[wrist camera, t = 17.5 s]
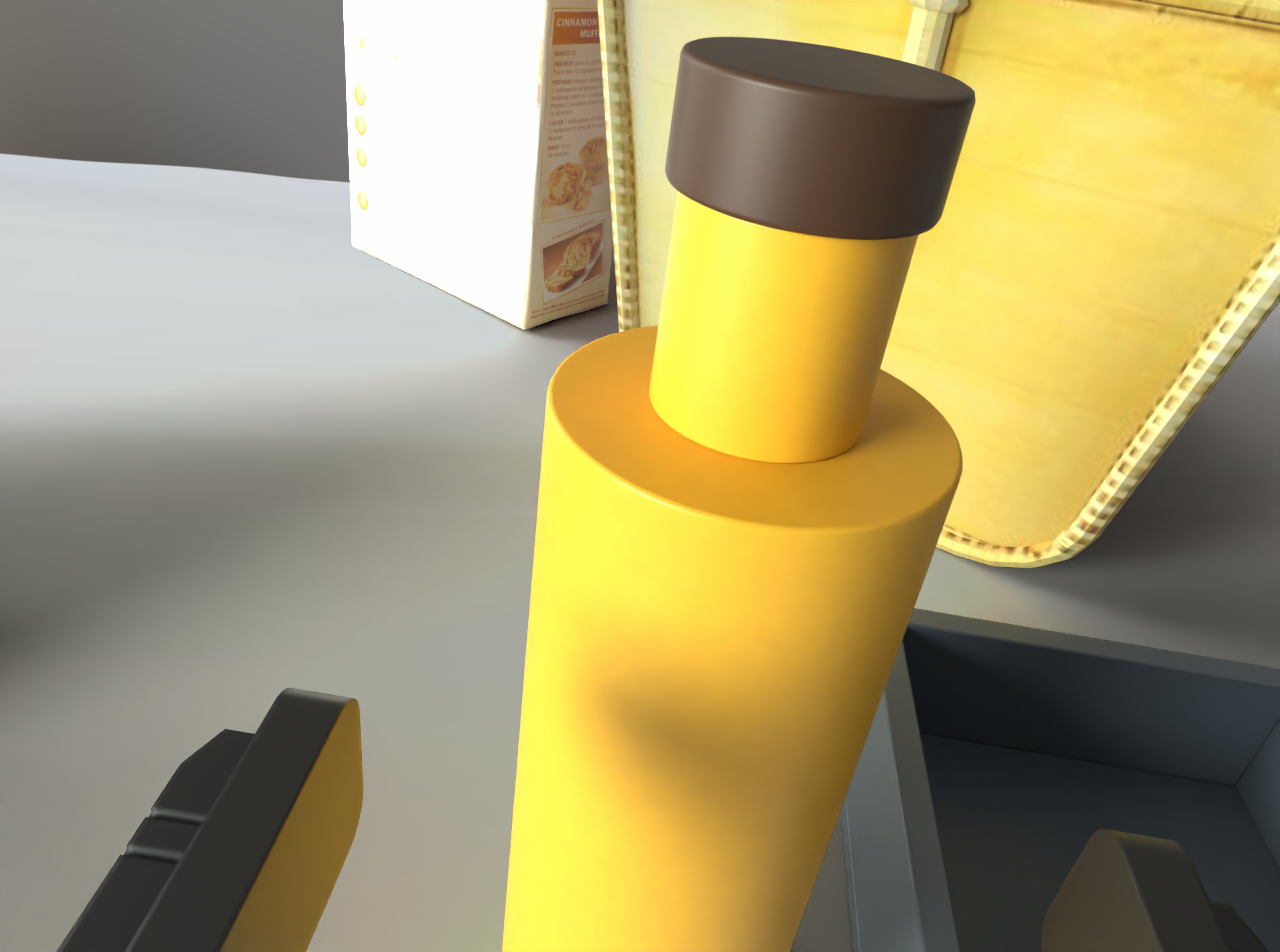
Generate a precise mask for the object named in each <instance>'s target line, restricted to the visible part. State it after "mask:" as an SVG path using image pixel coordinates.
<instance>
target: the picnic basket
mask: <svg viewBox="0 0 1280 952" xmlns="http://www.w3.org/2000/svg"><path fill="white" fill-rule="evenodd" d="M597 3H598V18H599V33H600V48H601V63H602V78H603V93H604V109H605V124H606V139H607V154H608V169H609V184H610V200H611V215H612V230H613V245H614V260H615V275H616V290H617V306H618V321H619V332H621V331H625V330H629V329H635V328H641V327H647V326H656V325H659V319H660V312H661V305H662V298H663V291H664V284H665V277H666V270H667V264H668V257H669V250H670V243H671V236H672V229H673V222H674V215H675V208H676V201H677V194H678V191H677V190H676V189H675V188H674V187H673V186H672V185H671V184H670V183H669V181H668V179H667V176H666V173H665V163H666V156H667V148H668V141H669V134H670V126H671V119H672V112H673V104H674V97H675V89H676V82H677V75H678V67H679V60H680V52H681V50H682V48H683V46H684V45H685V44H686V43H688V42H690V41H693V40H697V39H701V38H709V37H752V38H766V39H777V40H787V41H795V42H803V43H811V44H818V45H824V46H831V47H837V48H842V49H848V50H854V51H859V52H864V53H869V54H874V55H879V56H883V57H888V58H892V59H896V60H900V61H904V62H908V63H912V64H916V65H919V66H923V67H926V68H929V69H932V70H935V71H938V72H941V73H944V74H947V75H949V76H951V77H954V78H956V79H958V80H960V81H962V82H963V83H965V84H966V85H968V86H969V87H971V88H972V89H973V90H974V91H975V99H976V102H975V106H974V109H973V112H972V116H971V119H970V123H969V126H968V129H967V133H966V136H965V139H964V143H963V146H962V150H961V153H960V156H959V160H958V163H957V166H956V170H955V173H954V177H953V180H952V183H951V187H950V190H949V193H948V197H947V200H946V204H945V207H944V210H943V214H942V217H941V219H940V220H939V222H938V223H937V224H936V225H935V227H933V228H932V229H931V230H929V231H927V232H924V233H922V234H919V235H918V238H917V242H916V245H915V249H914V252H913V256H912V259H911V263H910V266H909V270H908V273H907V277H906V280H905V284H904V287H903V291H902V294H901V298H900V301H899V305H898V308H897V312H896V315H895V319H894V322H893V326H892V329H891V333H890V336H889V340H888V343H887V347H886V350H885V354H884V357H883V361H882V364H881V368H880V369H882V370H884V371H885V372H887V373H889V374H891V375H893V376H894V377H896V378H898V379H900V380H901V381H902V382H904V383H905V384H907V385H908V386H910V387H911V388H913V389H914V390H916V391H917V392H918V393H919V394H921V395H922V396H923V397H924V398H926V399H927V400H928V401H929V402H930V403H931V404H932V405H933V406H934V407H935V408H936V409H937V410H938V411H939V412H940V413H941V414H942V415H943V416H944V418H945V419H946V420H947V422H948V423H949V424H950V426H951V427H952V429H953V431H954V433H955V435H956V437H957V438H958V440H959V444H960V448H961V452H962V457H963V468H962V475H961V478H960V481H959V484H958V487H957V490H956V493H955V495H954V498H953V501H952V504H951V506H950V509H949V512H948V515H947V518H946V520H945V523H944V526H943V529H942V531H941V534H940V537H939V540H938V542H937V545H936V547H938V548H940V549H943V550H945V551H947V552H950V553H952V554H954V555H957V556H961V557H964V558H967V559H971V560H974V561H977V562H980V563H984V564H987V565H990V566H1000V567H1019V568H1035V567H1039V566H1043V565H1047V564H1051V563H1055V562H1060V561H1064V560H1068V559H1071V558H1073V557H1074V556H1076V555H1077V554H1078V553H1080V552H1081V551H1082V550H1084V549H1085V548H1086V547H1088V546H1089V545H1091V544H1092V543H1093V542H1095V541H1096V540H1097V539H1098V538H1099V537H1100V535H1101V534H1102V533H1103V531H1104V530H1105V529H1106V527H1107V526H1108V525H1109V524H1110V522H1111V521H1112V520H1113V518H1114V517H1115V516H1116V514H1117V513H1118V512H1119V510H1120V509H1121V508H1122V507H1123V505H1124V504H1125V503H1126V501H1127V500H1128V499H1129V497H1130V496H1131V495H1132V493H1133V492H1134V491H1135V490H1136V488H1137V487H1138V486H1139V484H1140V483H1141V482H1142V480H1143V479H1144V478H1145V477H1146V475H1147V474H1148V473H1149V471H1150V470H1151V469H1152V467H1153V466H1154V465H1155V463H1156V462H1157V461H1158V460H1159V458H1160V457H1161V456H1162V454H1163V453H1164V452H1165V450H1166V449H1167V448H1168V447H1169V445H1170V444H1171V443H1172V441H1173V440H1174V439H1175V437H1176V436H1177V435H1178V433H1179V432H1180V431H1181V430H1182V428H1183V427H1184V426H1185V424H1186V423H1187V422H1188V420H1189V419H1190V418H1191V416H1192V415H1193V414H1194V413H1195V411H1196V410H1197V409H1198V407H1199V406H1200V405H1201V403H1202V402H1203V401H1204V400H1205V398H1206V397H1207V396H1208V394H1209V393H1210V392H1211V390H1212V389H1213V388H1214V386H1215V385H1216V384H1217V383H1218V381H1219V380H1220V379H1221V377H1222V376H1223V375H1224V373H1225V372H1226V371H1227V370H1228V368H1229V367H1230V366H1231V364H1232V363H1233V362H1234V360H1235V359H1236V358H1237V356H1238V355H1239V354H1240V353H1241V351H1242V350H1243V349H1244V347H1245V346H1246V345H1247V343H1248V342H1249V341H1250V340H1251V338H1252V337H1253V336H1254V334H1255V333H1256V332H1257V330H1258V329H1259V328H1260V326H1261V325H1262V324H1263V323H1264V321H1265V320H1266V319H1267V317H1268V316H1269V315H1270V313H1271V312H1272V311H1273V309H1274V308H1275V307H1276V306H1277V304H1278V303H1279V302H1280V0H597Z"/></svg>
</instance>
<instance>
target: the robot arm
mask: <svg viewBox="0 0 1280 952" xmlns="http://www.w3.org/2000/svg"><path fill="white" fill-rule="evenodd" d="M362 800H363V773H362V752H361V731H360V711H359V705H358V702H357V700H356V699H353V698H347V697H341V696H335V695H330V694H324V693H318V692H312V691H306V690H300V689H294V688H287V689H285V690H284V691H282V692H281V693H280V695H279V696H278V697H277V698H276V700H275V701H274V703H273V705H272V706H271V708H270V710H269V711H268V713H267V715H266V716H265V718H264V720H263V721H262V723H261V725H260V726H259V728H258V730H257V732H256V733H255V734H251V733H245V732H240V731H234V730H228V729H225V730H223V731H222V732H221V733H219V734H218V735H217V736H216V737H214V738H213V739H212V740H210V741H209V742H208V743H207V744H205V745H204V746H203V747H202V748H200V749H199V750H198V751H196V752H195V753H194V754H193V755H191V756H190V757H189V758H188V759H186V760H185V761H184V762H182V763H181V764H180V766H179V767H178V769H177V770H176V772H175V773H174V775H173V776H172V778H171V779H170V781H169V782H168V784H167V785H166V787H165V788H164V790H163V791H162V793H161V794H160V796H159V797H158V799H157V800H156V802H155V803H154V805H153V806H152V808H151V814H150V816H149V817H145V819H144V820H143V822H142V823H141V825H140V826H139V828H138V829H137V831H136V832H135V834H134V835H133V837H132V838H131V840H130V841H129V843H128V844H127V849H126V852H125V854H124V855H120V856H119V858H118V859H117V861H116V862H115V864H114V865H113V867H112V868H111V870H110V871H109V873H108V874H107V876H106V877H105V879H104V880H103V882H102V883H101V885H100V886H99V888H98V890H97V891H96V893H95V894H94V896H93V897H92V899H91V900H90V902H89V903H88V905H87V906H86V908H85V909H84V911H83V912H82V914H81V915H80V917H79V918H78V920H77V921H76V923H75V924H74V926H73V927H72V929H71V930H70V932H69V933H68V935H67V936H66V938H65V939H64V941H63V942H62V944H61V945H60V947H59V948H58V950H57V951H56V952H306V951H307V948H308V946H309V944H310V941H311V939H312V937H313V934H314V932H315V929H316V927H317V925H318V922H319V920H320V918H321V915H322V913H323V911H324V908H325V906H326V904H327V901H328V899H329V897H330V894H331V892H332V890H333V887H334V885H335V883H336V880H337V878H338V876H339V873H340V871H341V869H342V866H343V864H344V862H345V859H346V857H347V855H348V852H349V850H350V847H351V845H352V842H353V839H354V836H355V833H356V829H357V826H358V822H359V817H360V813H361V807H362ZM1041 952H1270V951H1269V950H1268V949H1267V948H1266V947H1265V945H1264V944H1263V943H1262V942H1261V941H1260V940H1259V938H1258V937H1257V936H1256V935H1255V934H1254V932H1253V931H1252V930H1251V929H1250V928H1249V927H1248V925H1247V924H1246V923H1245V922H1244V921H1243V919H1242V918H1241V917H1240V916H1239V915H1238V913H1237V912H1236V911H1235V910H1234V909H1233V908H1232V906H1231V905H1230V904H1226V903H1220V902H1214V901H1210V900H1209V897H1208V895H1207V893H1206V891H1205V888H1204V886H1203V884H1202V882H1201V879H1200V877H1199V875H1198V873H1197V871H1196V868H1195V866H1194V864H1193V862H1192V860H1191V858H1190V856H1189V854H1188V853H1187V851H1186V850H1185V849H1184V848H1183V847H1182V846H1181V845H1180V844H1179V843H1177V842H1176V841H1172V840H1167V839H1161V838H1155V837H1149V836H1143V835H1137V834H1131V833H1126V832H1120V831H1114V830H1108V829H1099V830H1097V831H1096V832H1095V833H1094V834H1092V836H1091V837H1090V839H1089V840H1088V842H1087V844H1086V845H1085V847H1084V849H1083V850H1082V852H1081V854H1080V856H1079V857H1078V859H1077V861H1076V862H1075V864H1074V866H1073V868H1072V869H1071V871H1070V873H1069V874H1068V876H1067V878H1066V879H1065V881H1064V883H1063V885H1062V886H1061V888H1060V890H1059V891H1058V893H1057V895H1056V897H1055V898H1054V900H1053V902H1052V903H1051V905H1050V907H1049V909H1048V911H1047V913H1046V916H1045V919H1044V923H1043V929H1042V938H1041Z"/></svg>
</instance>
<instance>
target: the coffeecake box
mask: <svg viewBox="0 0 1280 952" xmlns="http://www.w3.org/2000/svg"><path fill="white" fill-rule="evenodd" d="M343 3H344V5H343V6H344V33H345V60H346V88H347V114H348V142H349V168H350V193H351V220H352V246H353V247H355V248H358V249H360V250H362V251H364V252H366V253H368V254H370V255H373V256H375V257H377V258H379V259H381V260H383V261H385V262H387V263H389V264H391V265H393V266H395V267H397V268H399V269H401V270H403V271H406V272H408V273H410V274H411V275H413V276H415V277H418V278H420V279H422V280H424V281H426V282H428V283H430V284H432V285H434V286H436V287H438V288H440V289H442V290H444V291H446V292H448V293H450V294H452V295H455V296H457V297H458V298H460V299H462V300H464V301H466V302H468V303H470V304H472V305H474V306H476V307H478V308H481V309H483V310H485V311H487V312H489V313H491V314H493V315H495V316H497V317H499V318H501V319H503V320H505V321H507V322H509V323H511V324H513V325H515V326H517V327H519V328H521V329H523V330H526V329H529V328H532V327H535V326H538V325H540V324H543V323H546V322H549V321H551V320H555V319H558V318H561V317H565V316H569V315H572V314H576V313H580V312H584V311H587V310H590V309H592V308H595V307H598V306H601V305H604V304H607V303H608V289H609V279H610V271H611V262H612V253H613V230H612V215H611V200H610V184H609V169H608V154H607V139H606V124H605V109H604V93H603V78H602V63H601V48H600V33H599V18H598V3H597V0H343Z"/></svg>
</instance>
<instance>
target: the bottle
mask: <svg viewBox="0 0 1280 952" xmlns="http://www.w3.org/2000/svg"><path fill="white" fill-rule="evenodd" d="M975 102H976V99H975V91H974V90H973V89H972V88H971V87H969V86H968V85H966V84H965V83H963V82H962V81H960V80H958V79H956V78H954V77H951V76H949V75H947V74H944V73H941V72H938V71H935V70H932V69H929V68H926V67H923V66H919V65H916V64H912V63H908V62H904V61H900V60H896V59H892V58H888V57H883V56H879V55H874V54H869V53H864V52H859V51H854V50H848V49H842V48H837V47H831V46H824V45H818V44H811V43H803V42H795V41H787V40H777V39H766V38H752V37H709V38H701V39H697V40H693V41H690V42H688V43H686V44H685V45H684V46H683V48H682V50H681V52H680V60H679V67H678V75H677V82H676V89H675V97H674V104H673V112H672V119H671V126H670V134H669V141H668V148H667V156H666V163H665V173H666V176H667V179H668V181H669V183H670V184H671V185H672V186H673V187H674V188H675V189H676V190H677V191H678V194H677V201H676V208H675V215H674V222H673V229H672V236H671V243H670V250H669V257H668V264H667V270H666V277H665V284H664V291H663V298H662V305H661V312H660V319H659V325H656V326H647V327H641V328H635V329H629V330H625V331H621V332H617V333H614V334H610V335H607V336H604V337H602V338H599V339H596V340H594V341H592V342H590V343H588V344H586V345H584V346H582V347H580V348H579V349H577V350H576V351H575V352H573V353H572V354H571V355H569V356H568V357H567V358H566V359H565V360H564V361H563V362H562V363H561V364H560V365H559V366H558V368H557V370H556V371H555V373H554V375H553V377H552V379H551V380H550V383H549V388H548V392H547V400H546V412H545V425H544V437H543V450H542V462H541V475H540V487H539V500H538V512H537V525H536V537H535V550H534V562H533V575H532V587H531V600H530V612H529V624H528V637H527V649H526V662H525V674H524V687H523V699H522V712H521V724H520V737H519V749H518V762H517V774H516V787H515V799H514V812H513V824H512V837H511V849H510V862H509V874H508V887H507V899H506V912H505V924H504V936H503V949H502V952H790V950H791V947H792V945H793V942H794V939H795V936H796V933H797V931H798V928H799V925H800V922H801V920H802V917H803V914H804V911H805V909H806V906H807V903H808V900H809V897H810V895H811V892H812V889H813V886H814V884H815V881H816V878H817V875H818V872H819V870H820V867H821V864H822V861H823V859H824V856H825V853H826V850H827V848H828V845H829V842H830V839H831V836H832V834H833V831H834V828H835V825H836V823H837V820H838V817H839V814H840V811H841V809H842V806H843V803H844V800H845V798H846V795H847V792H848V789H849V787H850V784H851V781H852V778H853V775H854V773H855V770H856V767H857V764H858V762H859V759H860V756H861V753H862V750H863V748H864V745H865V742H866V739H867V737H868V734H869V731H870V728H871V726H872V723H873V720H874V717H875V714H876V712H877V709H878V706H879V703H880V701H881V698H882V695H883V692H884V689H885V687H886V684H887V681H888V678H889V676H890V673H891V670H892V667H893V665H894V662H895V659H896V656H897V653H898V651H899V648H900V645H901V642H902V640H903V637H904V634H905V631H906V628H907V626H908V623H909V620H910V617H911V615H912V612H913V609H914V606H915V603H916V601H917V598H918V595H919V592H920V590H921V587H922V584H923V581H924V579H925V576H926V573H927V570H928V567H929V565H930V562H931V559H932V556H933V554H934V551H935V548H936V545H937V542H938V540H939V537H940V534H941V531H942V529H943V526H944V523H945V520H946V518H947V515H948V512H949V509H950V506H951V504H952V501H953V498H954V495H955V493H956V490H957V487H958V484H959V481H960V478H961V475H962V468H963V457H962V452H961V448H960V444H959V440H958V438H957V437H956V435H955V433H954V431H953V429H952V427H951V426H950V424H949V423H948V422H947V420H946V419H945V418H944V416H943V415H942V414H941V413H940V412H939V411H938V410H937V409H936V408H935V407H934V406H933V405H932V404H931V403H930V402H929V401H928V400H927V399H926V398H924V397H923V396H922V395H921V394H919V393H918V392H917V391H916V390H914V389H913V388H911V387H910V386H908V385H907V384H905V383H904V382H902V381H901V380H900V379H898V378H896V377H894V376H893V375H891V374H889V373H887V372H885V371H884V370H882V369H880V368H881V364H882V361H883V357H884V354H885V350H886V347H887V343H888V340H889V336H890V333H891V329H892V326H893V322H894V319H895V315H896V312H897V308H898V305H899V301H900V298H901V294H902V291H903V287H904V284H905V280H906V277H907V273H908V270H909V266H910V263H911V259H912V256H913V252H914V249H915V245H916V242H917V238H918V235H919V234H922V233H924V232H927V231H929V230H931V229H932V228H933V227H935V225H936V224H937V223H938V222H939V220H940V219H941V217H942V214H943V210H944V207H945V204H946V200H947V197H948V193H949V190H950V187H951V183H952V180H953V177H954V173H955V170H956V166H957V163H958V160H959V156H960V153H961V150H962V146H963V143H964V139H965V136H966V133H967V129H968V126H969V123H970V119H971V116H972V112H973V109H974V106H975Z"/></svg>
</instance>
